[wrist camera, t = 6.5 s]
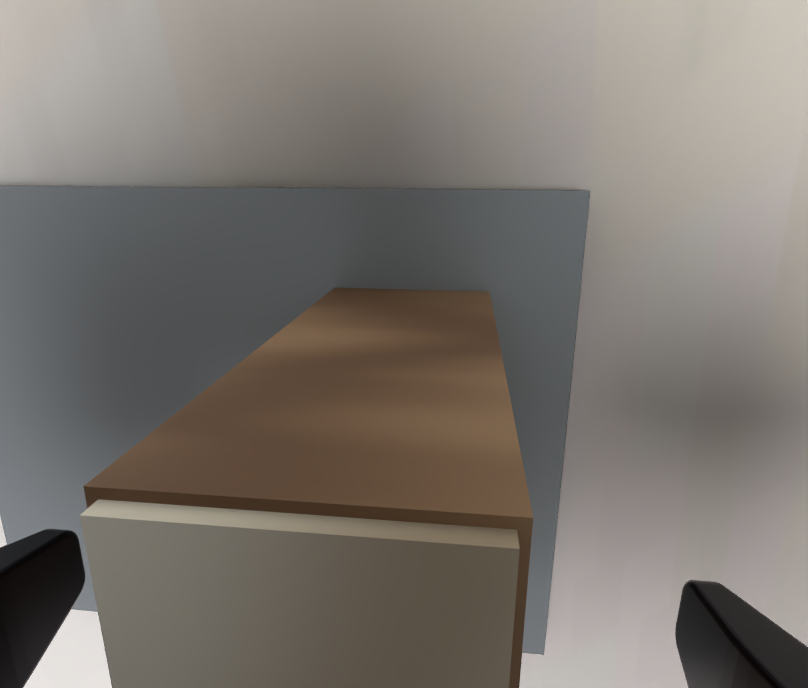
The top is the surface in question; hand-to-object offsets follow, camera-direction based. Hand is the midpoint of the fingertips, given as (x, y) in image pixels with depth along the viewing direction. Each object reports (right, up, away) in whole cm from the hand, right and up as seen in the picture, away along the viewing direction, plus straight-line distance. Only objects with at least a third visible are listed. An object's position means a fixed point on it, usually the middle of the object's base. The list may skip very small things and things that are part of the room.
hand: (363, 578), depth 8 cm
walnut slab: (+1, +1, +4) cm, 4 cm away
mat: (-3, +2, +5) cm, 6 cm away
